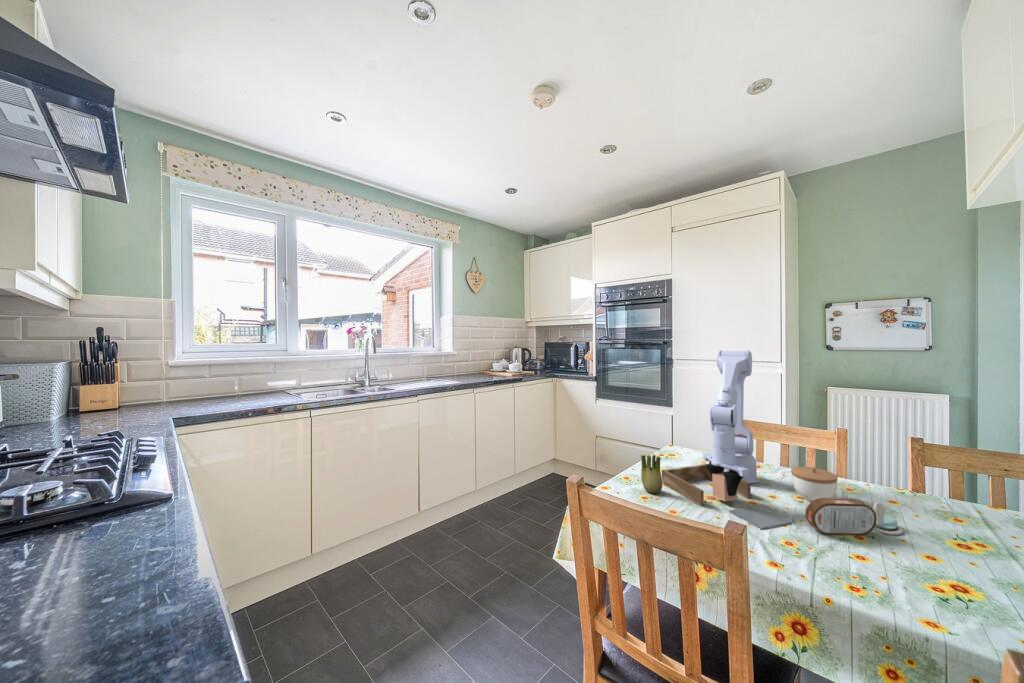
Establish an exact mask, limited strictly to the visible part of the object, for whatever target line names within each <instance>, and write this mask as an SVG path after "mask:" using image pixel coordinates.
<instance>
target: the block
mask: <svg viewBox="0 0 1024 683" xmlns="http://www.w3.org/2000/svg"><path fill="white" fill-rule="evenodd" d="M711 482H712V496H714V497H716V498H717V499H719V500H721V501H723V502H730V501H735V500H738V493H737V492H736V495H734V496H729V495H728V492H727V483H726V479H725V476H724V474H723V472H722V473H715V474H712V481H711Z"/></svg>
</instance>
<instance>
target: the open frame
mask: <svg viewBox="0 0 1024 683" xmlns="http://www.w3.org/2000/svg"><path fill="white" fill-rule="evenodd" d="M706 464H707V463H705V464H698V465H690V466H681V467H676V468H668V469H663V470H661V477H662V483H663V484H662V485H664V484H665V485H664V486H666V487H667V486H668V488H669V487H670V488H669V489H670V490H672V491H674V492H676V493H677V494H679V495H681V496H683V497H684V498H686V499H688V500H689V501H691V502H693V503H694V504H696V505H698V506H699V507H704V503H705V500H704V499H705V498H704V490H703V489H701V488H699V487H697V486H696V485H694V484H693V483H690V482H691V481H696V480H697V479H698V480H703V478H705V479H707V480H709V481H711V482H712V478H711V475H710V473H709V471H708V469H707V468H706ZM751 490H752V489H751V483H749V482H747V481H744V480H741V481H740V483H739V485H738V488H737V495H740V496H742V497H744V498H745V499H751V497H752V496H751Z"/></svg>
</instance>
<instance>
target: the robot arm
mask: <svg viewBox="0 0 1024 683" xmlns="http://www.w3.org/2000/svg"><path fill="white" fill-rule="evenodd" d="M715 359H716V367H717V368H718V371H719V372H720V374H721V375H722V380H721V386H719V387H717V390H716V394H715V399H714V405H713V406H711V408H710V410H709V420H710V426H711V427H710V428H711V431H712V450H713V452H712V454H711V453H709V452H707V453H703V455H702V456H703V461H705V462H708V463H705V464H706V468H707V469H708V471H709V473H710V475H711V478H712V474H715V473H722V472H723V474H724V476H725V479H726V483H727V492H728V495H729V496H734V495H736V492H737V488H738V485H739V483H740V481H741V480H744V481H747V482H749V483H750V484H755V483H760V480H759V479H757V478H758V474H757V472H758V471H757V469H758V468H757V461H756V458H755V456H754V455H753V453H754V448H755V446H754V434H753V433H752V431H751V429H749V428H748V427H746V426H745V425H744V397H745V396H744V394H745V393H744V392H745V390H744V385H745V384H744V383H745V380H746V378H747V377H749V376H752V372H753V354H752V352H751V351H750V350H718V351H717V353H716V358H715Z"/></svg>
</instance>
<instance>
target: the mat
mask: <svg viewBox="0 0 1024 683" xmlns="http://www.w3.org/2000/svg"><path fill="white" fill-rule="evenodd" d="M728 513H730V514H732V515H734V516H736V517H738V518H740V519H741V520H743V519H744V520H743V521H745V520H746V521H745V522H747V521H748V522H749V523H748V522H747V523H748V524H750V523H751V524H750V525H752V524H753V525H752V526H754V527H755V528H757V527H758V528H757V529H759V528H760V529H759V530H761V529H762V530H765V528H767V529H771V528H770V527H772V528H775V527H774V526H777V527H781V526H780V525H782V526H786V524H787V525H792V524H793V523H792V521H790V520H788V519H786V518H785V517H783V516H780V515H779V514H777V513H774V512H772V511H770V510H768V509H766V508H765V507H762V506H760V505H751V506H746V507H740V508H735V509H729V510H728ZM791 523H792V524H791Z"/></svg>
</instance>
